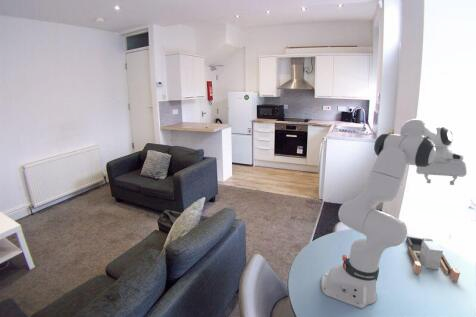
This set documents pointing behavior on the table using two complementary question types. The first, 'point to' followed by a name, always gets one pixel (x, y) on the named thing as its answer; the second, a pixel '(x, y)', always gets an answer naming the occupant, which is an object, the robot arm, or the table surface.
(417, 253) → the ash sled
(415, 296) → the table surface
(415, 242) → the dark grey tray
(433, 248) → the small box
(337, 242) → the table surface
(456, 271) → the posts
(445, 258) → the walnut channel
